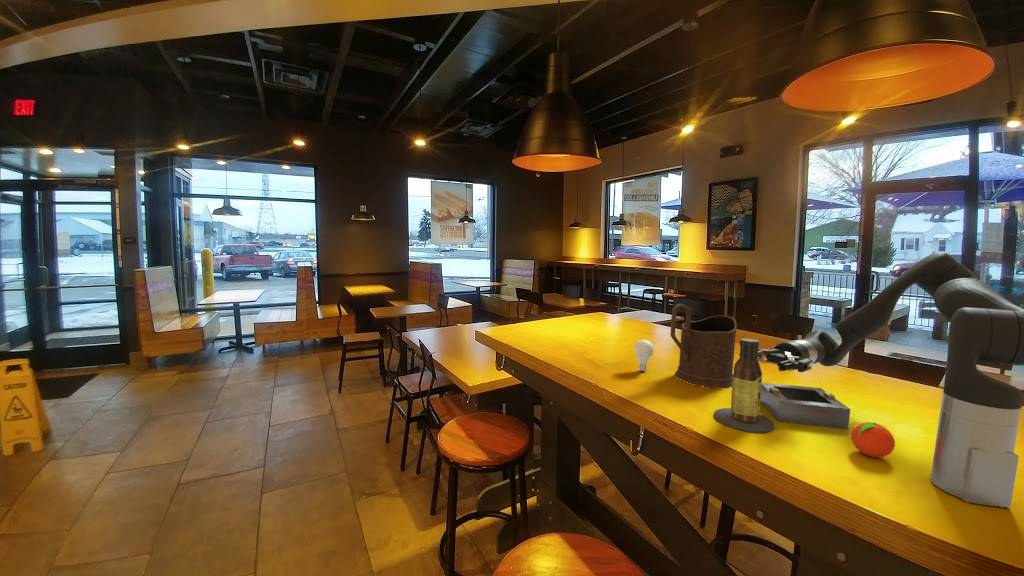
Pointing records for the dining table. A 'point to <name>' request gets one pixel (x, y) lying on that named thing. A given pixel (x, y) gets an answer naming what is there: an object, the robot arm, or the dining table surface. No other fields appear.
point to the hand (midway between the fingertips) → (762, 362)
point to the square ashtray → (804, 405)
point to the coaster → (757, 427)
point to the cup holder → (705, 349)
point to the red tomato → (873, 439)
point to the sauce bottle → (747, 383)
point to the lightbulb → (643, 353)
